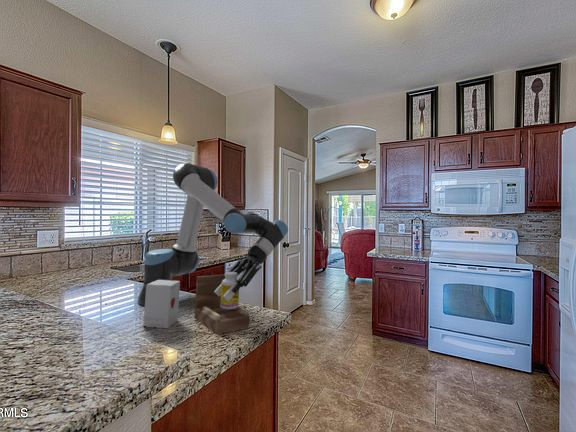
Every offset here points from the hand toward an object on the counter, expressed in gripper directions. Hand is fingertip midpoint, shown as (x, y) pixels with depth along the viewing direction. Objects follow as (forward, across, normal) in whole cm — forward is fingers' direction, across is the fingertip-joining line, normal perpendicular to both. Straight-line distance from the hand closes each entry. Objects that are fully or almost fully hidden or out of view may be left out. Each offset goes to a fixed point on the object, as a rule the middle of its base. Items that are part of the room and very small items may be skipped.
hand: (221, 296), depth 107 cm
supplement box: (+20, +12, +4) cm, 24 cm away
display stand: (+6, +2, -9) cm, 11 cm away
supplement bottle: (+1, 0, -6) cm, 6 cm away
